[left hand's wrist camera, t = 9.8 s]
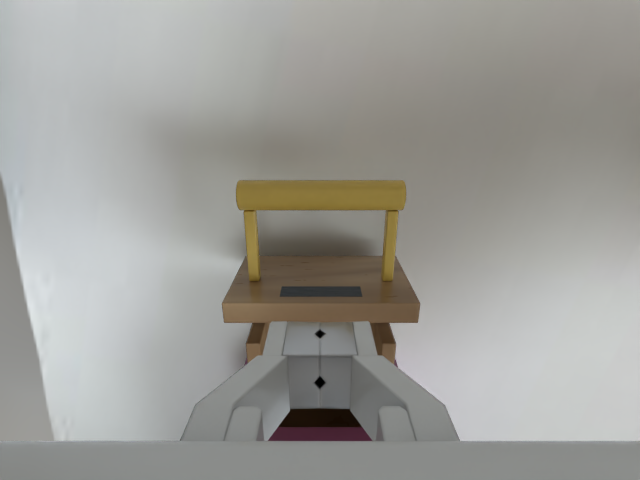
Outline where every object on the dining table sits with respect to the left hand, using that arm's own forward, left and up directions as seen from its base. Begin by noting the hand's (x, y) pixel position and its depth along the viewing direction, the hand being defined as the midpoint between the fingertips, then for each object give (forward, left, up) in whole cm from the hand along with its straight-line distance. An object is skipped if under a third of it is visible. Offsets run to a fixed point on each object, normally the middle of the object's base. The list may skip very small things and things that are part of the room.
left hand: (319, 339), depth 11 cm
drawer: (+9, +2, -13) cm, 16 cm away
